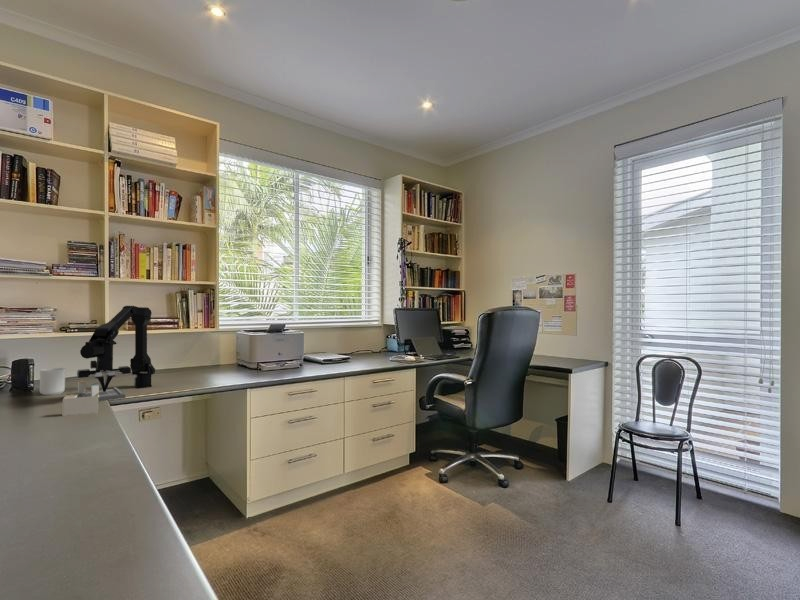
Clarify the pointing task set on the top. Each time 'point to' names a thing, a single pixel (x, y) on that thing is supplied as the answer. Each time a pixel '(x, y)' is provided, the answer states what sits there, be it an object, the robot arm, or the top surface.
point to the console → (102, 394)
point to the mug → (52, 381)
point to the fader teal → (94, 389)
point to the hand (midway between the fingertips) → (104, 391)
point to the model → (79, 405)
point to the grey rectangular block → (81, 387)
